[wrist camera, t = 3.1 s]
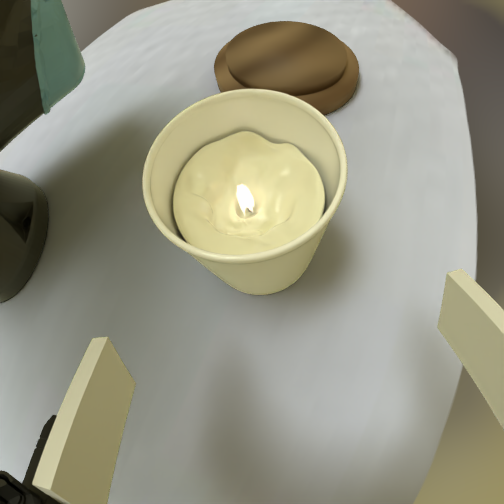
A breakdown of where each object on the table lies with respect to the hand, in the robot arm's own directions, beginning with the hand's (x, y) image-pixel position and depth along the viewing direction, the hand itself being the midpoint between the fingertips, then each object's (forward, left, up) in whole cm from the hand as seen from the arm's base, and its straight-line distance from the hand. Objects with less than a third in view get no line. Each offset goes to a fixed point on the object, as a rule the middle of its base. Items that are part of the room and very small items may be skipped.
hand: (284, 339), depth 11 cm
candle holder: (-7, +5, -13) cm, 15 cm away
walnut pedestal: (-18, +23, -12) cm, 31 cm away
